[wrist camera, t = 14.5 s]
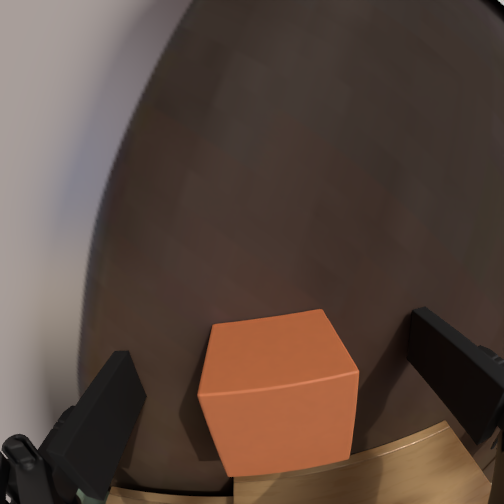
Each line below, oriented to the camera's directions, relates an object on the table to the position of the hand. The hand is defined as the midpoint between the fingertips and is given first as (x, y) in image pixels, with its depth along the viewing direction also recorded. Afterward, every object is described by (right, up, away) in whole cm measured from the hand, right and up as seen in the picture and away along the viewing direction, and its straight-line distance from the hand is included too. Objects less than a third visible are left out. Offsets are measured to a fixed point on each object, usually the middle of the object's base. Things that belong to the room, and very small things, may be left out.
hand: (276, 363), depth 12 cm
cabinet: (+6, -14, +3) cm, 15 cm away
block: (0, 0, 0) cm, 0 cm away
